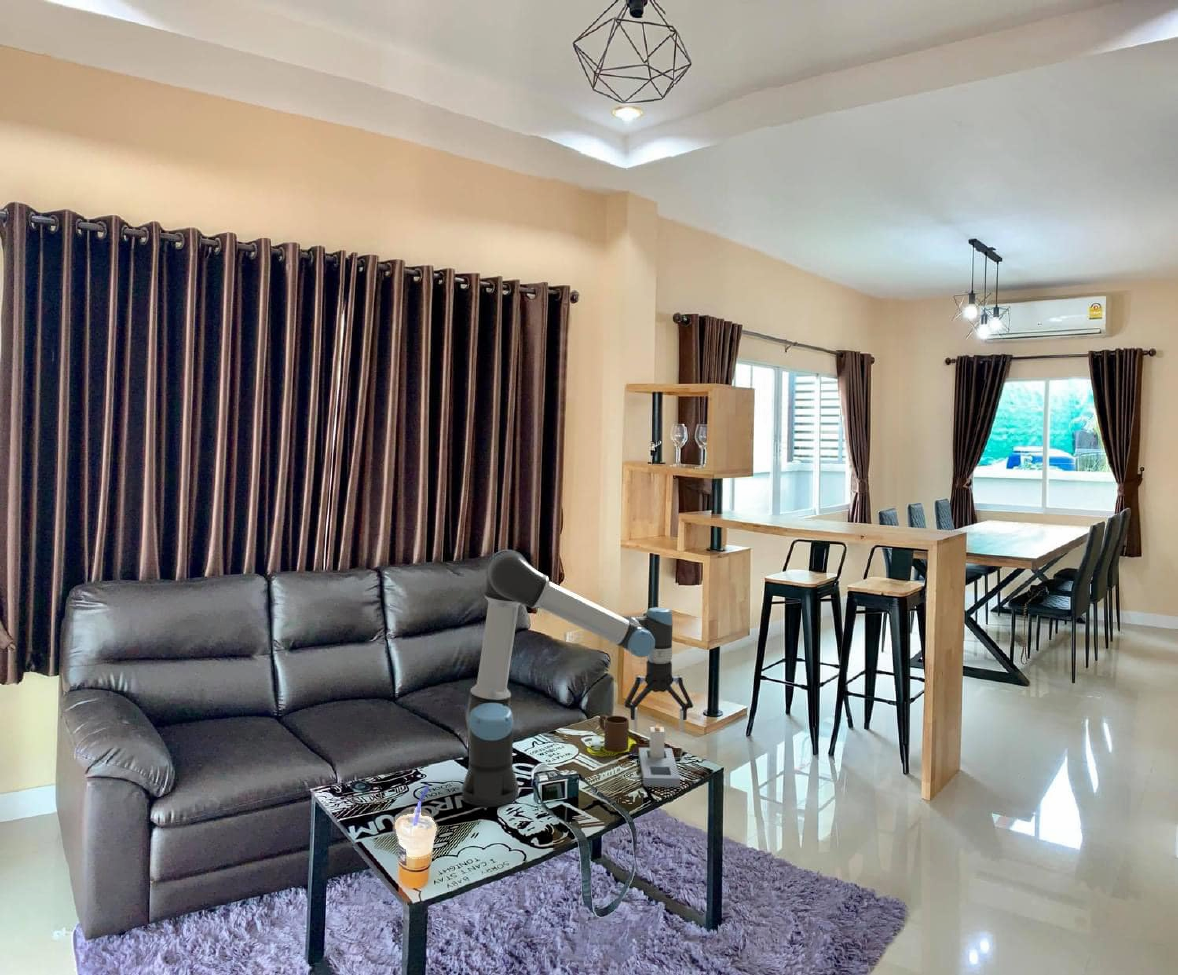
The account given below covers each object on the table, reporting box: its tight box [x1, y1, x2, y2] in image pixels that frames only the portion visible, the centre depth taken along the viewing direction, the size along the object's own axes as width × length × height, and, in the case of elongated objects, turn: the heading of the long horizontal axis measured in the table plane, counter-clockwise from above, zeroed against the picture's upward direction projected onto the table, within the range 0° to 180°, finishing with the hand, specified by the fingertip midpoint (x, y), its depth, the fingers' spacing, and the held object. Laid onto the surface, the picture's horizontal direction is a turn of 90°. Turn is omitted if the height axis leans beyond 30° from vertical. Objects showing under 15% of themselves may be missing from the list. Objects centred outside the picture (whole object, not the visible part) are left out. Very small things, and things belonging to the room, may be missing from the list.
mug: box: [598, 714, 630, 753], centre depth 254 cm, size 12×8×9 cm, turn 39°
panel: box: [638, 747, 681, 788], centre depth 236 cm, size 10×22×3 cm, turn 0°
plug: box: [649, 724, 666, 758], centre depth 241 cm, size 4×4×11 cm
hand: (658, 730), depth 241 cm, fingers open, 13 cm apart
